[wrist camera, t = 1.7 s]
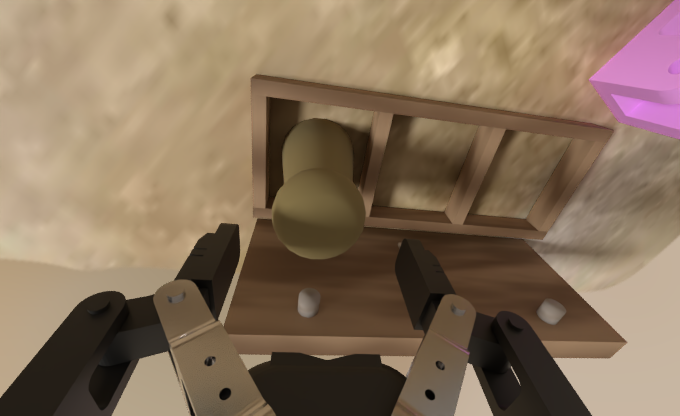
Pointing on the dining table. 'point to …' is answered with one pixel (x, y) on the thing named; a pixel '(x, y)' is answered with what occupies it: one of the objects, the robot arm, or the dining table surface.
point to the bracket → (646, 77)
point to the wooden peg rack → (383, 244)
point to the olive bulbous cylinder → (318, 192)
